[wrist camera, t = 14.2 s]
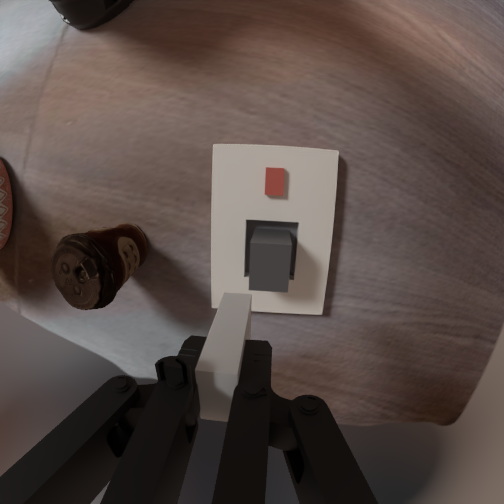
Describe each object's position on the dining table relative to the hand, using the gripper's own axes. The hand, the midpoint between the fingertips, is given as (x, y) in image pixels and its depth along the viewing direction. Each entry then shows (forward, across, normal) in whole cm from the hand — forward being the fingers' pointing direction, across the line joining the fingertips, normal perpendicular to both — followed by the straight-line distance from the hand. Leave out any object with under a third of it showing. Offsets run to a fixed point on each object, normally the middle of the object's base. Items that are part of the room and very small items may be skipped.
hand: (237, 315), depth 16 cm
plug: (+20, +2, -2) cm, 20 cm away
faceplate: (+21, +2, 0) cm, 21 cm away
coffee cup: (+21, -17, -3) cm, 27 cm away
